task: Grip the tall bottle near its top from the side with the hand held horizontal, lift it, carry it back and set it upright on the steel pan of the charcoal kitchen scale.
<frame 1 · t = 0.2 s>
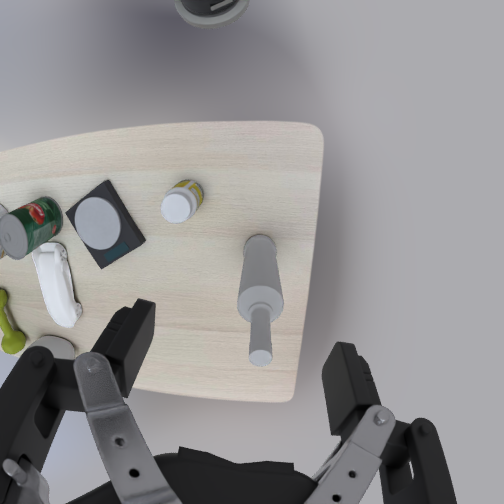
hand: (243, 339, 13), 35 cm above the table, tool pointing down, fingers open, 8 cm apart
bottle: (260, 248, 48), on the table
toy car: (61, 282, 52), on the table
scale: (106, 224, 47), on the table
supplement bottle: (189, 194, 45), on the table
container: (7, 227, 48), on the table
canned tomato: (48, 216, 47), on the table
soap bottle: (60, 344, 59), on the table
dumbbell: (11, 314, 57), on the table
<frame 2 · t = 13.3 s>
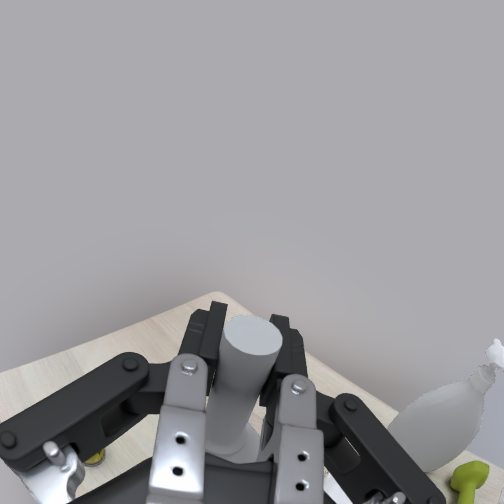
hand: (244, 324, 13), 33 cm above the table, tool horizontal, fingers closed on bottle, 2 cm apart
supplement bottle: (89, 452, 29), on the table
soap bottle: (402, 457, 38), on the table
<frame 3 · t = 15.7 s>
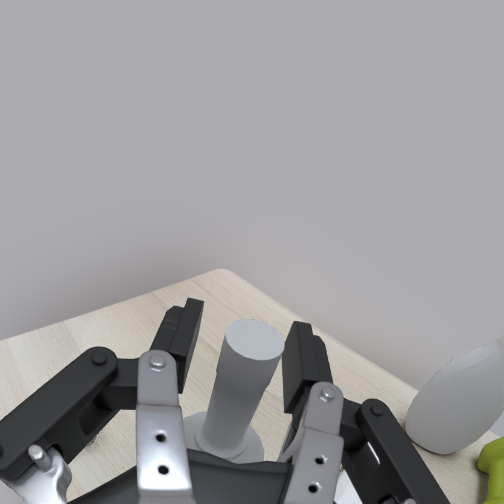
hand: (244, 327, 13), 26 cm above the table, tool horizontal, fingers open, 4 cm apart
toy car: (349, 503, 25), on the table
soap bottle: (427, 437, 35), on the table
dumbbell: (479, 495, 22), on the table
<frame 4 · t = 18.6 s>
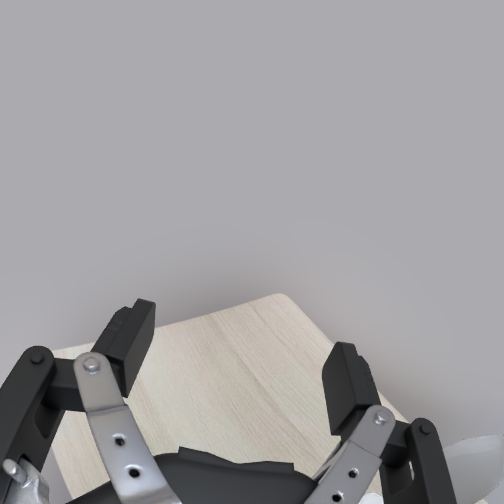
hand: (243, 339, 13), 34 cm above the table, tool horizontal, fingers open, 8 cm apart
soap bottle: (422, 493, 32), on the table
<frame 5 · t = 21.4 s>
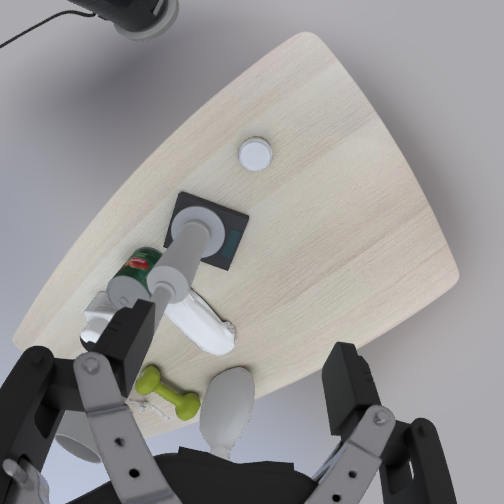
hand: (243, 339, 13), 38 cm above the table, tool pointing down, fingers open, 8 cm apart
bottle: (196, 233, 49), point 2 cm above the table, touching scale
toy car: (198, 315, 59), on the table
action figure: (151, 408, 75), on the table
cylinder vase: (111, 376, 70), on the table
scale: (205, 229, 51), on the table
supplement bottle: (256, 150, 46), on the table
container: (118, 307, 60), on the table
canned tomato: (149, 265, 55), on the table
soap bottle: (232, 377, 67), on the table
dumbbell: (171, 383, 69), on the table
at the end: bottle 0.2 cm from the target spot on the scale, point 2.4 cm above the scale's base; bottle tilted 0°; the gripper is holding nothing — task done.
